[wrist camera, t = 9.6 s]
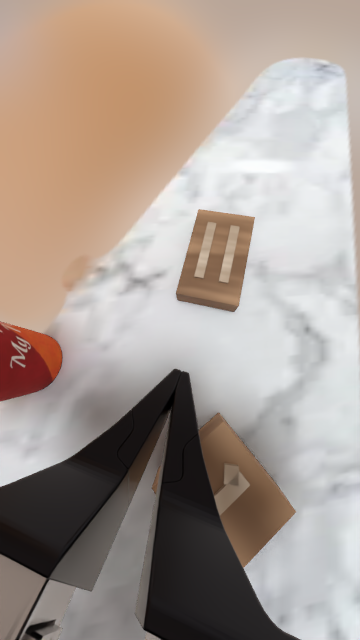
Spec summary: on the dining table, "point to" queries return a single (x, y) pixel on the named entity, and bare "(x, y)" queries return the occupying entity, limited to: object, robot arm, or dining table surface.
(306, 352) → the dining table surface
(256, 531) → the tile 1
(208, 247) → the wooden block
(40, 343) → the coffee cup
